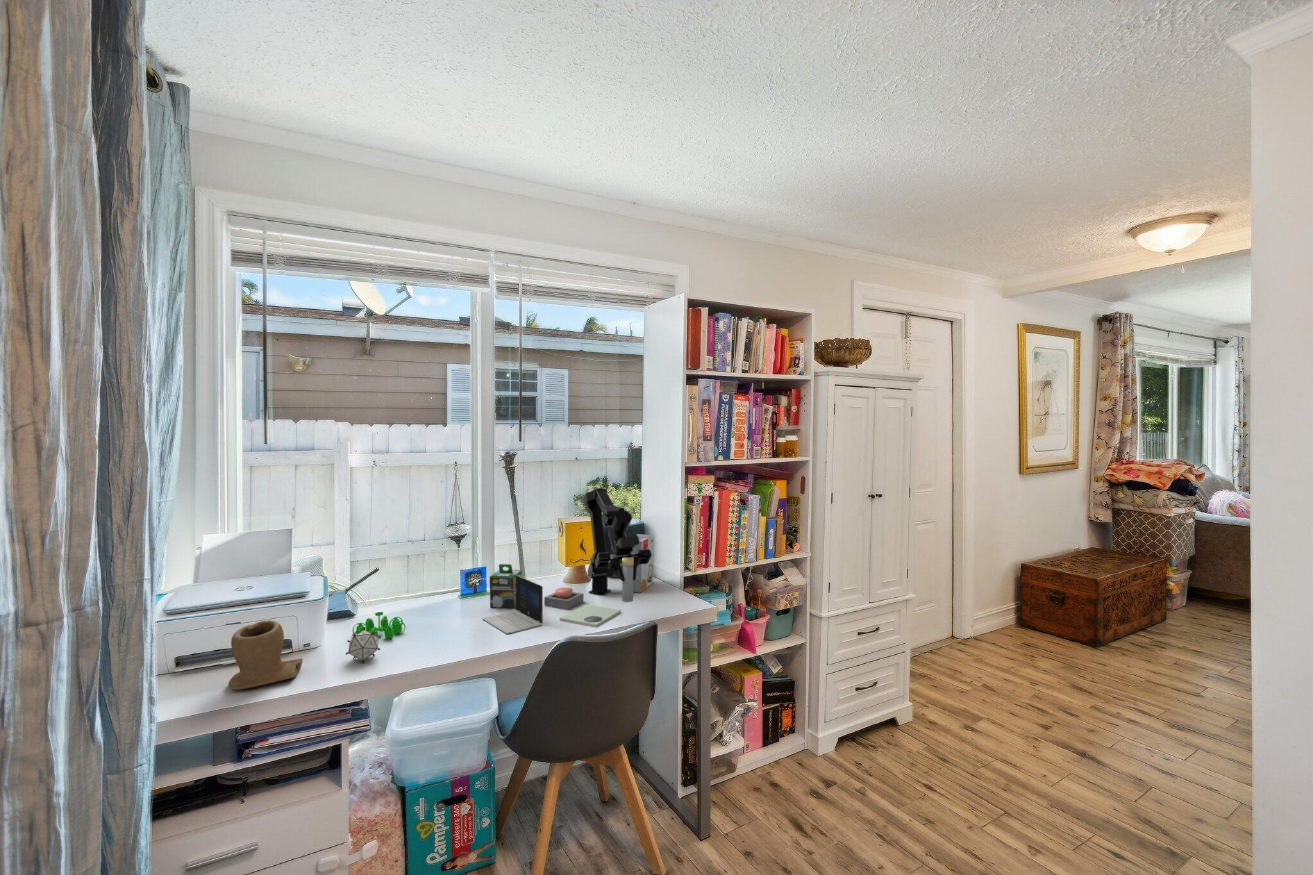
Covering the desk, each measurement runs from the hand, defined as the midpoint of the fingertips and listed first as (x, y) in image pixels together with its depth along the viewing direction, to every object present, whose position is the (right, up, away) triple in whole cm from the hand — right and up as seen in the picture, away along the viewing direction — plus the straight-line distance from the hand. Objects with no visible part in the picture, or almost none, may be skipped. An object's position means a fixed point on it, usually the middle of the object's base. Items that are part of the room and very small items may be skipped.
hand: (629, 580), depth 186 cm
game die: (-71, -14, -32) cm, 79 cm away
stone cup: (-88, -14, -46) cm, 100 cm away
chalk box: (-45, -13, +17) cm, 50 cm away
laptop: (-38, -14, -2) cm, 41 cm away
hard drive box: (+2, -13, +39) cm, 42 cm away
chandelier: (-76, -14, -13) cm, 78 cm away
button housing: (-24, -13, +18) cm, 33 cm away
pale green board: (-13, -13, +4) cm, 19 cm away
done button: (-24, -10, +18) cm, 32 cm away
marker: (-1, -7, +1) cm, 7 cm away
